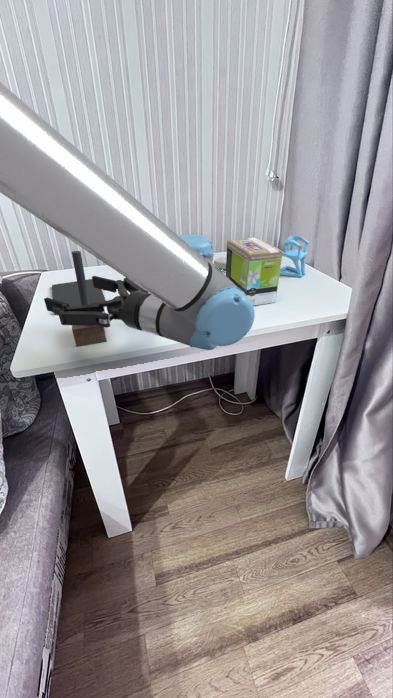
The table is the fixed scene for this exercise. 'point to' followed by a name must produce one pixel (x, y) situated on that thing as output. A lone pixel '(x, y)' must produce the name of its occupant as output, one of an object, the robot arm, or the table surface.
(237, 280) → the tea box
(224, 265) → the electronic device
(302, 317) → the table surface
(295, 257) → the chair
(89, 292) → the dark grey flat block
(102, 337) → the pen stand
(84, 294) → the stylus
